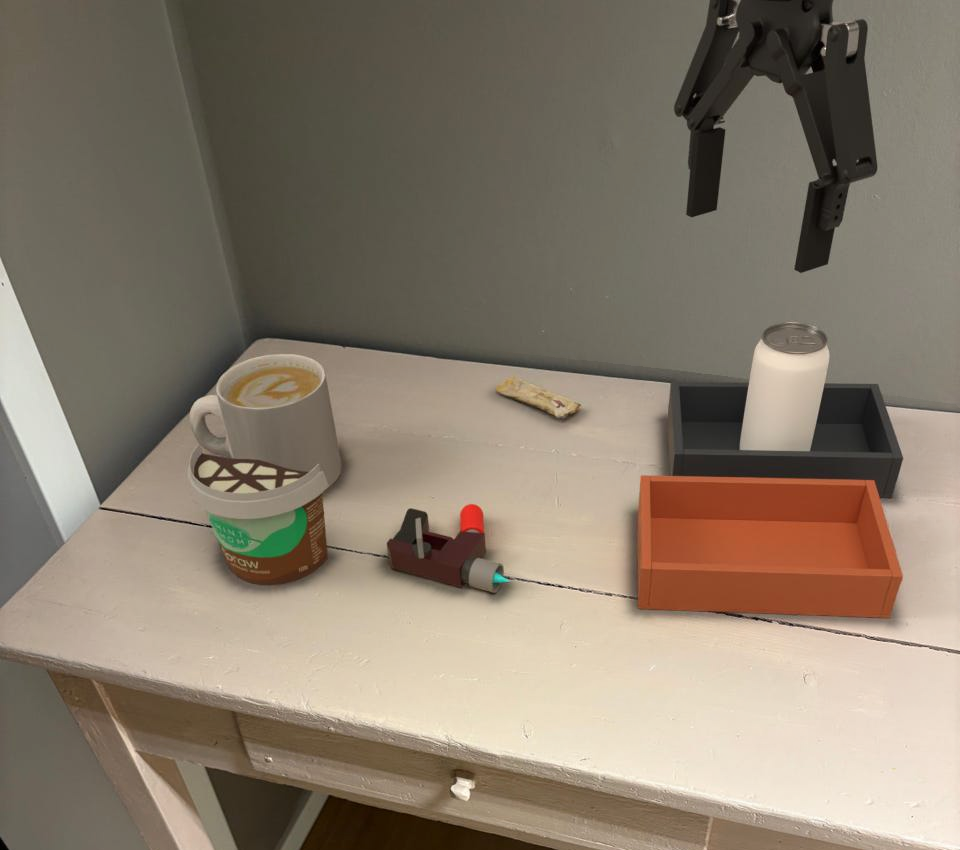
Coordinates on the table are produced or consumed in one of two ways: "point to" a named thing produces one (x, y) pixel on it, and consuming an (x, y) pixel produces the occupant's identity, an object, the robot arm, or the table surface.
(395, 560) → the toy gun
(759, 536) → the terracotta bin
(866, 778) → the table surface
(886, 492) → the grey bin
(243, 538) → the food container
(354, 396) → the table surface
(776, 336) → the can
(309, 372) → the coffee mug
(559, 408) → the snack bar
